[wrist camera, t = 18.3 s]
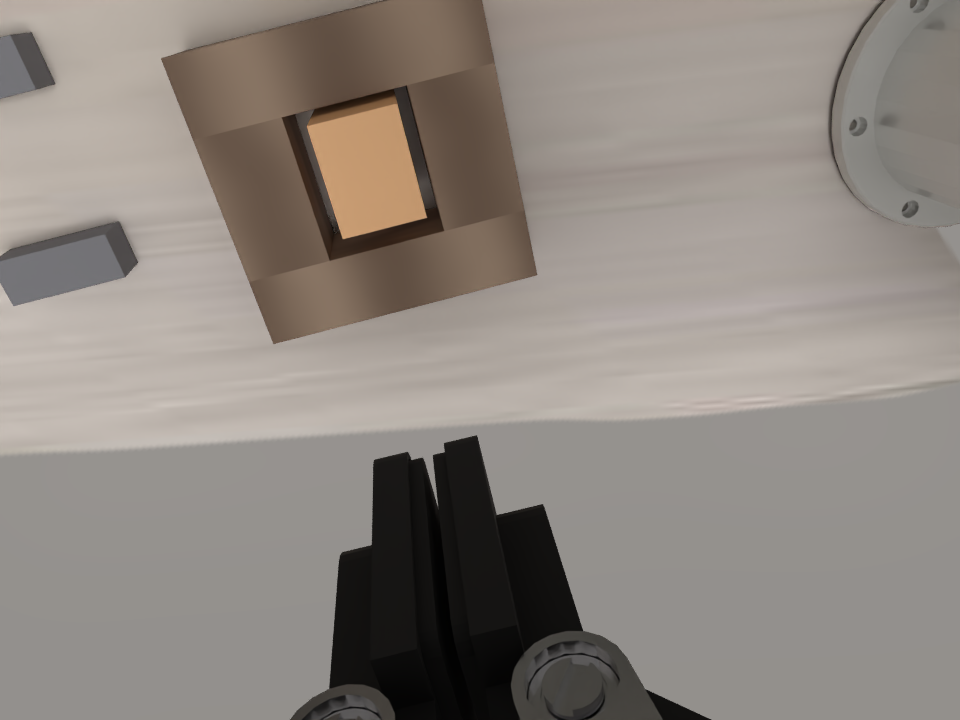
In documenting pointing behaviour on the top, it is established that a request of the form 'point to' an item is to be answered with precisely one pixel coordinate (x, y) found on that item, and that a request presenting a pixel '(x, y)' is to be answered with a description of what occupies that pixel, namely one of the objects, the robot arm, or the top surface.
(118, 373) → the top surface
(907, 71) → the robot arm
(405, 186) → the plug
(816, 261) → the top surface
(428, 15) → the port block
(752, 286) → the top surface
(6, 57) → the grey block stand
